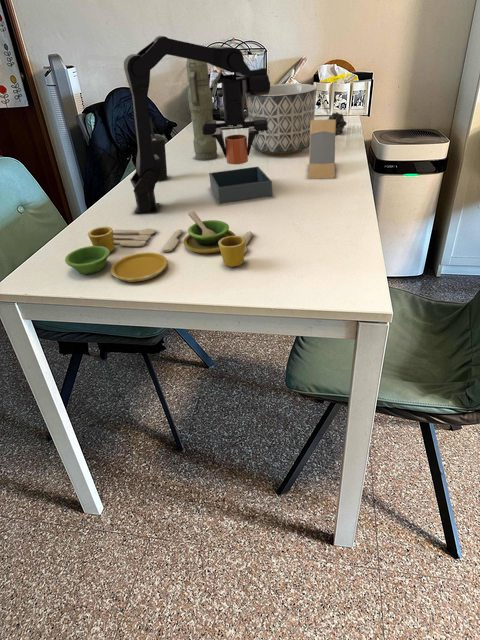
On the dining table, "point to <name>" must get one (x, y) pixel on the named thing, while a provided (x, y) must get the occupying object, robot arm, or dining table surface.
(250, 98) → the planter
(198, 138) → the thermos
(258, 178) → the tote
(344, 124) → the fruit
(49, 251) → the dining table surface
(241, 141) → the coffee cup
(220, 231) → the tableware set
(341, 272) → the dining table surface
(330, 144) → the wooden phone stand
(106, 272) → the dining table surface
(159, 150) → the drinking cup
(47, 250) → the dining table surface
